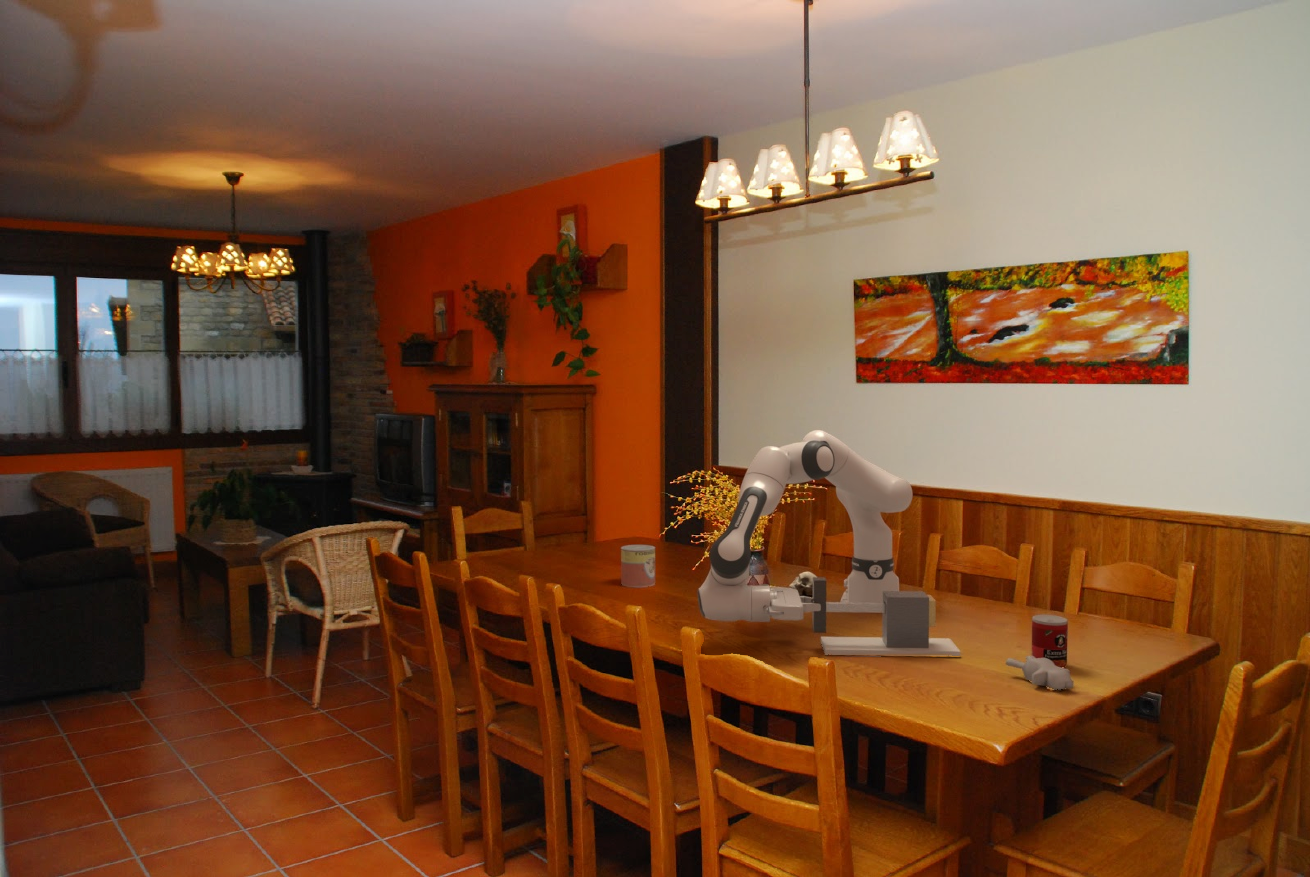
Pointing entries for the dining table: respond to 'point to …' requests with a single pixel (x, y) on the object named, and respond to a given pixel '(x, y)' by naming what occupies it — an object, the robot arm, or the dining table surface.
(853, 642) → the base plate
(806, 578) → the skull
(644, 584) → the canned food
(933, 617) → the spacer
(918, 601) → the block
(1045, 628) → the canned food
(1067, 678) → the bunny figurine
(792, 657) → the dining table surface
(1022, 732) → the dining table surface
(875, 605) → the shaft
